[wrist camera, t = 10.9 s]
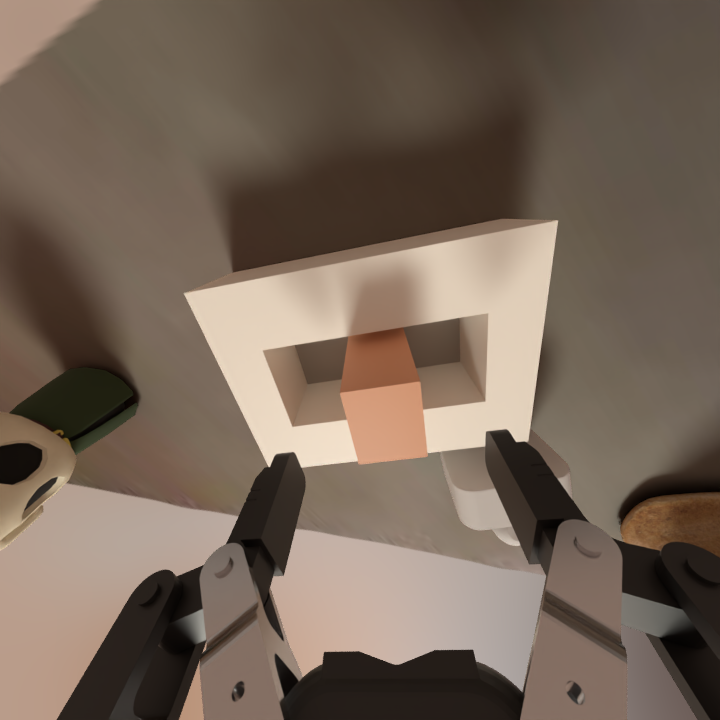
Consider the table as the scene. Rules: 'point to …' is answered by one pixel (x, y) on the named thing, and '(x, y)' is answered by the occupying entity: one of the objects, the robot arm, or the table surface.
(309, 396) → the well block
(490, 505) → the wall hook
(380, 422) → the orange block
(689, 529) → the brown boot-shaped piece
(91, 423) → the character mug
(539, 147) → the table surface
